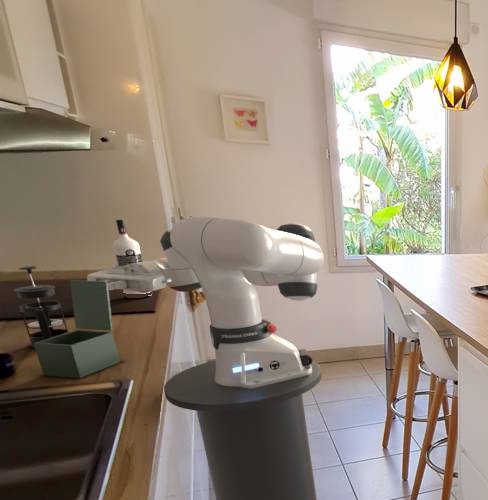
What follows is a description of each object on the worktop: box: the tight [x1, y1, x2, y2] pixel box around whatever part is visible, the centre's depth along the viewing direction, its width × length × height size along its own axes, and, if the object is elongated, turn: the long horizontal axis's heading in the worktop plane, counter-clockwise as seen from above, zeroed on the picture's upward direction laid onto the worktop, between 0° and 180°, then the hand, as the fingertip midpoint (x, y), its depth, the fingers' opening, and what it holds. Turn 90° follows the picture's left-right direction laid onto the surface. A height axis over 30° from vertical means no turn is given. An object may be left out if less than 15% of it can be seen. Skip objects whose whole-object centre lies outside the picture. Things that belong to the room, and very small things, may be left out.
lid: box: [69, 279, 114, 332], centre depth 147 cm, size 13×10×1 cm
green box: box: [34, 329, 121, 379], centre depth 145 cm, size 12×10×9 cm
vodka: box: [112, 219, 153, 297], centre depth 214 cm, size 9×9×30 cm
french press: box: [13, 265, 69, 349], centre depth 159 cm, size 12×9×23 cm
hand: (103, 286), depth 150 cm, fingers closed
